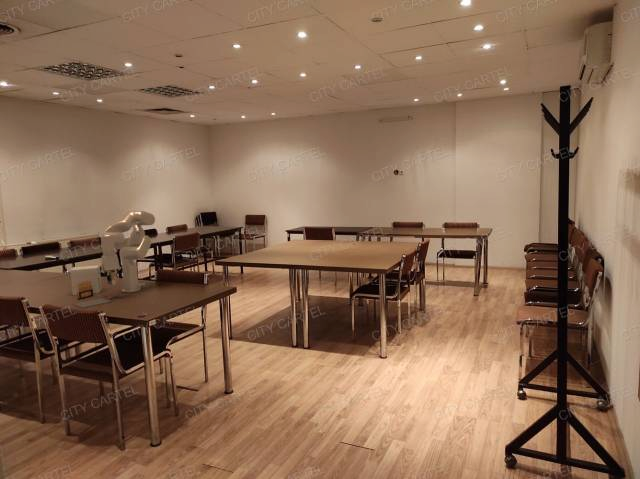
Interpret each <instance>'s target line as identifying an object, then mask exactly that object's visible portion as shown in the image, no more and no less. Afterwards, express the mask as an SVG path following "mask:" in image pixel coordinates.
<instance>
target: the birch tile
mask: <svg viewBox="0 0 640 479" xmlns="http://www.w3.org/2000/svg"><path fill="white" fill-rule="evenodd" d="M109 275H110V278H111V281H108V280H107V279H106V281H107V284H108V285H110V286H111V285H112V286H115V285H118V276H117V277H116V272H113V270H110V271H109Z"/></svg>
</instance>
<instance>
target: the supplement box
mask: <svg viewBox="0 0 640 479" xmlns="http://www.w3.org/2000/svg"><path fill="white" fill-rule="evenodd" d="M69 273H70V281H71V292H72V295H71V296H77V292H78V291H77V283H78V282H79V286H80V281H81V283H82V281H84V286H85V280H86V283H87V280H88V281H89V280H91V284H92V289H93V294H100V293H101V291H102V289H103V288H102V287H103V286H102V277H101V268H100V264H98V265H97V264H96V265H86V266H74V267H72V268H71V269H70V272H69Z"/></svg>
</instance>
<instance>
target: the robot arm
mask: <svg viewBox="0 0 640 479" xmlns="http://www.w3.org/2000/svg"><path fill="white" fill-rule="evenodd" d="M155 222H156V217H155V215H154V214H153V213H150V212H146V210H145V211H144V210H130V211H129V210H128V212H127V213H125V215H123V217H122V218H121V220H120V221H118V222H116V223H114V224H112V225H110V226H109V227H107V228H106V229H105V230H104V231H103V232H102V234H101V237H100V238H101V247H102V255H101V260H100V262H101V263H100V265H101V268H100V273H102V274H104V275H106V281H107V280H108V281H111V278H110V275H109V272H110V271H112V272H116V277H117V278H118V275H117V274H118V272H119V271H120V270H121V269H122V282H123V288H122V289H121V292H123V293H135V292H138V291H142V287H145V285H146V283H145V282H144V283H143V282H141V283H140V282H139V277H138V266H137V263H136V260H137V261H140V260H144V259H145V258H146V256H147V253H148V252H149V250H150V247H151V245H152V240H151V238H150V236H149V235H146V232H145V230H144V228H143V227H142V226H153V225H154V224H155ZM131 229H132V232H131V234H130V236H129V238H128V240H127V242H126V243H127V246H123V247H122V248H120V250H119V257H120V260H121V266H120V262H119V257H118V255H117V253H118V250H117V249H116V245H119V244H122V243H123V242H124V241H125V235H124V234H123V233H125V232H126V233H127V232H129V231H130V230H131ZM108 281H107V282H108Z"/></svg>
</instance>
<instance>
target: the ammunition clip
mask: <svg viewBox="0 0 640 479" xmlns="http://www.w3.org/2000/svg"><path fill="white" fill-rule="evenodd" d="M77 291H78V292H77V295H76V296H77V300H78V301H80V300H84V299H88V298H91V297H95V296H94V293H93V289H92V284H91V280H89V281H88V280H87V283H86V280H85V286H84V281H82V283H81V281H80V286H79V282H78V283H77Z"/></svg>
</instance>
